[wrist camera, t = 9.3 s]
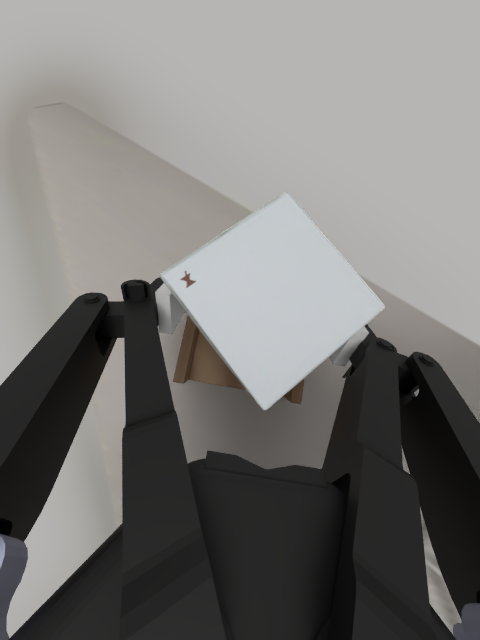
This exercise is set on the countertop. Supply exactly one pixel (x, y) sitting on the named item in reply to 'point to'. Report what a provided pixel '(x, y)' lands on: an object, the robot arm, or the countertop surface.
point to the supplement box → (272, 297)
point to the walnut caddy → (211, 364)
